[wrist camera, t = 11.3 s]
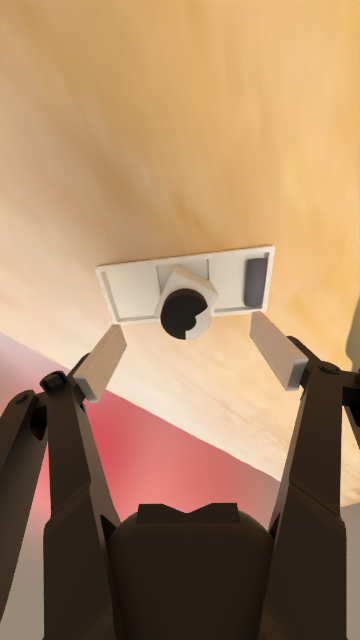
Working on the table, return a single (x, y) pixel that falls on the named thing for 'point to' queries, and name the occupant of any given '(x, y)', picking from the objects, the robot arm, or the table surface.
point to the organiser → (152, 275)
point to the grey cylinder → (255, 282)
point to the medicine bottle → (186, 304)
